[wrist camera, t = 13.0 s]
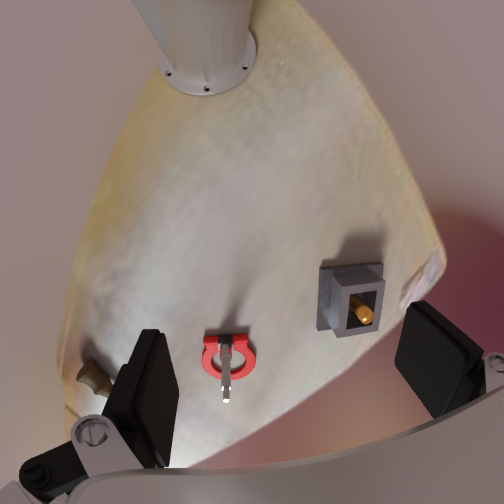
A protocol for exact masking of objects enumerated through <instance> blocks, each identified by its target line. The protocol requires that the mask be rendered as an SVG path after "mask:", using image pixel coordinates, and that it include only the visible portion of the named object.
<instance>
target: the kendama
mask: <svg viewBox="0 0 504 504" xmlns="http://www.w3.org/2000/svg"><path fill="white" fill-rule="evenodd" d="M76 381H78V382H84V383H85V384H87V385H88V386H90V387H91V388H92V389H93V391H94V394H95V395H102V396H105V397H107V398H108V397H109V395H110V392H111V390H112V387H113V384H112V383H111V380H110V376H106V375H104V374H103V373H101V372H100V371H99V369H98V368H97V367H96V364H95V361H94V360H90V361H88V362H87V363H86V364H85V365H84V366H83V367H82V368H81V369H80V371H79V372H78V374H77V377H76Z"/></svg>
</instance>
